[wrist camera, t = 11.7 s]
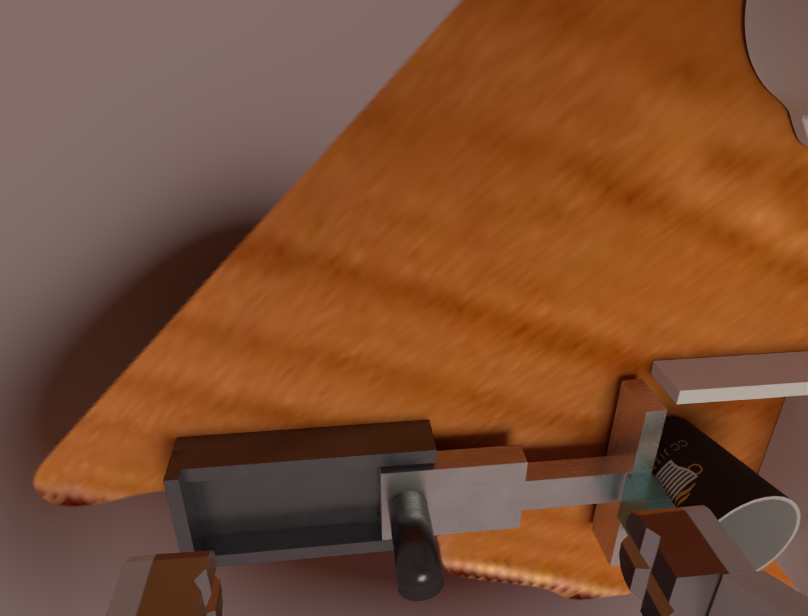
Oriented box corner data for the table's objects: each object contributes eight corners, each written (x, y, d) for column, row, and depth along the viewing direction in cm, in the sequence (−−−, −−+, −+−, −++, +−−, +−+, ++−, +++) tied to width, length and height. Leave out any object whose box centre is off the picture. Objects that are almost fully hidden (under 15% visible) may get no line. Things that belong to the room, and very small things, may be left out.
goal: (816, 350, 49) (925, 430, 40) (753, 517, 57) (831, 613, 48) (653, 360, 47) (729, 446, 38) (614, 530, 56) (668, 631, 47)
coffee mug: (693, 388, 49) (791, 475, 40) (715, 451, 53) (808, 542, 45) (568, 463, 49) (637, 565, 41) (600, 519, 54) (670, 622, 45)
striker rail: (429, 419, 47) (438, 459, 43) (426, 513, 52) (435, 556, 48) (176, 437, 45) (163, 480, 41) (197, 533, 50) (186, 580, 46)
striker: (651, 378, 47) (774, 524, 34) (617, 526, 55) (707, 691, 42) (376, 396, 45) (397, 559, 32) (379, 548, 52) (398, 730, 40)
